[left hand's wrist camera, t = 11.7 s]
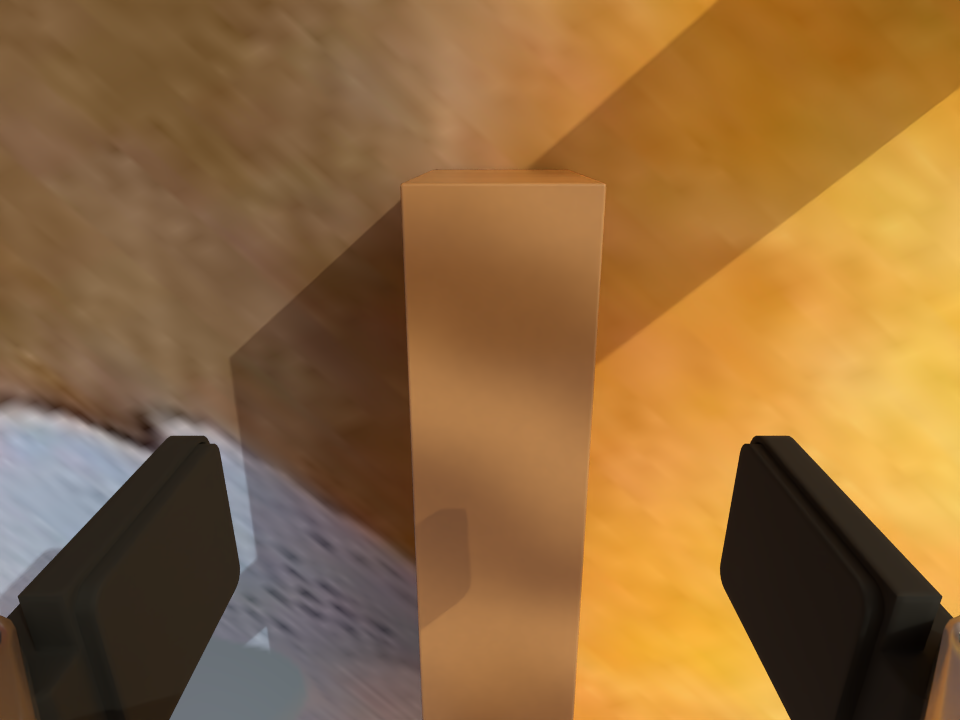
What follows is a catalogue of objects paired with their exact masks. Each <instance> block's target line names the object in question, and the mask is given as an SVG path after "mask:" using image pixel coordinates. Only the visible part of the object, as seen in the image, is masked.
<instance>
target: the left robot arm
mask: <svg viewBox="0 0 960 720" xmlns="http://www.w3.org/2000/svg"><path fill="white" fill-rule="evenodd" d="M239 575H240V564H239V558H238V553H237V547H236V541H235V536H234V530H233V524H232V519H231V513H230V507H229V501H228V496H227V490H226V484H225V479H224V473H223V467H222V462H221V456H220V451H219V448H218V446H217V445H216V444H210V443H209V441H208V439H207V438H206V437H205V436H170V437H169V438H167V439H166V440H165V441H164V442H163V443H162V444H161V445H160V447H159V448H158V449H157V450H156V451H155V452H154V453H153V454H152V455H151V456H150V457H149V458H148V459H147V460H146V461H145V462H144V463H143V464H142V466H141V467H140V468H139V469H138V470H137V471H136V472H135V473H134V474H133V475H132V476H131V477H130V478H129V479H128V480H127V481H126V482H125V484H124V485H123V486H122V487H121V488H120V489H119V490H118V491H117V492H116V493H115V494H114V495H113V496H112V497H111V498H110V499H109V500H108V501H107V503H106V504H105V505H104V506H103V507H102V508H101V509H100V510H99V511H98V512H97V513H96V514H95V515H94V516H93V517H92V518H91V519H90V521H89V522H88V523H87V524H86V525H85V526H84V527H83V528H82V529H81V530H80V531H79V532H78V533H77V534H76V535H75V536H74V537H73V538H72V540H71V541H70V542H69V543H68V544H67V545H66V546H65V547H64V548H63V549H62V550H61V551H60V552H59V553H58V554H57V555H56V556H55V558H54V559H53V560H52V561H51V562H50V563H49V564H48V565H47V566H46V567H45V568H44V569H43V570H42V571H41V572H40V573H39V574H38V575H37V577H36V578H35V579H34V580H33V581H32V582H31V583H30V584H29V585H28V586H27V587H26V588H25V589H24V590H23V591H22V592H21V593H20V595H19V596H18V599H19V602H20V604H19V605H18V606H17V607H16V608H15V610H14V611H13V612H12V613H11V614H10V615H9V616H8V617H7V618H5V617H3V616H1V615H0V720H169V719H170V717H171V715H172V713H173V711H174V709H175V707H176V705H177V703H178V701H179V699H180V697H181V695H182V693H183V691H184V689H185V687H186V686H187V684H188V682H189V680H190V678H191V676H192V674H193V672H194V670H195V668H196V666H197V664H198V662H199V660H200V658H201V656H202V654H203V652H204V650H205V648H206V646H207V644H208V642H209V640H210V638H211V636H212V634H213V632H214V630H215V628H216V626H217V624H218V623H219V621H220V619H221V617H222V615H223V613H224V611H225V609H226V607H227V605H228V603H229V601H230V599H231V597H232V595H233V593H234V591H235V589H236V587H237V584H238V581H239ZM720 575H721V581H722V584H723V587H724V589H725V591H726V593H727V595H728V597H729V599H730V601H731V603H732V605H733V607H734V609H735V611H736V613H737V615H738V617H739V619H740V621H741V623H742V624H743V626H744V628H745V630H746V632H747V634H748V636H749V638H750V640H751V642H752V644H753V646H754V648H755V650H756V652H757V654H758V656H759V658H760V660H761V662H762V664H763V666H764V668H765V670H766V672H767V674H768V676H769V678H770V680H771V682H772V684H773V686H774V687H775V689H776V691H777V693H778V695H779V697H780V699H781V701H782V703H783V705H784V707H785V709H786V711H787V713H788V715H789V717H790V719H791V720H960V615H959V616H957V617H955V618H953V617H952V616H951V615H950V614H949V613H948V612H947V611H946V610H945V608H944V607H943V606H942V605H941V604H940V602H941V599H942V596H941V595H940V593H939V592H938V591H937V590H936V589H935V588H934V587H933V586H932V585H931V584H930V583H929V582H928V581H927V580H926V579H925V578H924V577H923V575H922V574H921V573H920V572H919V571H918V570H917V569H916V568H915V567H914V566H913V565H912V564H911V563H910V562H909V561H908V560H907V559H906V558H905V556H904V555H903V554H902V553H901V552H900V551H899V550H898V549H897V548H896V547H895V546H894V545H893V544H892V543H891V542H890V541H889V540H888V538H887V537H886V536H885V535H884V534H883V533H882V532H881V531H880V530H879V529H878V528H877V527H876V526H875V525H874V524H873V523H872V522H871V521H870V519H869V518H868V517H867V516H866V515H865V514H864V513H863V512H862V511H861V510H860V509H859V508H858V507H857V506H856V505H855V504H854V503H853V501H852V500H851V499H850V498H849V497H848V496H847V495H846V494H845V493H844V492H843V491H842V490H841V489H840V488H839V487H838V486H837V485H836V484H835V482H834V481H833V480H832V479H831V478H830V477H829V476H828V475H827V474H826V473H825V472H824V471H823V470H822V469H821V468H820V467H819V466H818V464H817V463H816V462H815V461H814V460H813V459H812V458H811V457H810V456H809V455H808V454H807V453H806V452H805V451H804V450H803V449H802V448H801V447H800V445H799V444H798V443H797V442H796V441H795V440H794V439H793V438H791V437H790V436H755V437H754V438H753V439H752V441H751V443H750V444H744V445H743V446H742V448H741V451H740V456H739V462H738V467H737V473H736V479H735V484H734V490H733V496H732V501H731V507H730V513H729V519H728V524H727V530H726V536H725V541H724V547H723V553H722V558H721V564H720Z"/></svg>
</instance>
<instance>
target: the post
mask: <svg viewBox="0 0 960 720" xmlns="http://www.w3.org/2000/svg"><path fill="white" fill-rule="evenodd" d="M400 190H401V214H402V238H403V262H404V287H405V311H406V335H407V359H408V383H409V408H410V432H411V456H412V480H413V504H414V528H415V553H416V577H417V601H418V625H419V649H420V674H421V698H422V720H573V717H574V701H575V685H576V668H577V652H578V636H579V620H580V604H581V587H582V571H583V555H584V539H585V523H586V507H587V490H588V474H589V458H590V442H591V426H592V410H593V393H594V377H595V361H596V345H597V329H598V312H599V296H600V280H601V264H602V248H603V232H604V215H605V199H606V184H605V183H602V182H599V181H597V180H594V179H591V178H589V177H586V176H583V175H581V174H578V173H575V172H573V171H570V170H432V171H430V172H427V173H425V174H423V175H420V176H418V177H416V178H414V179H411V180H409V181H407V182H404V183H402V184H401V186H400Z"/></svg>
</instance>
